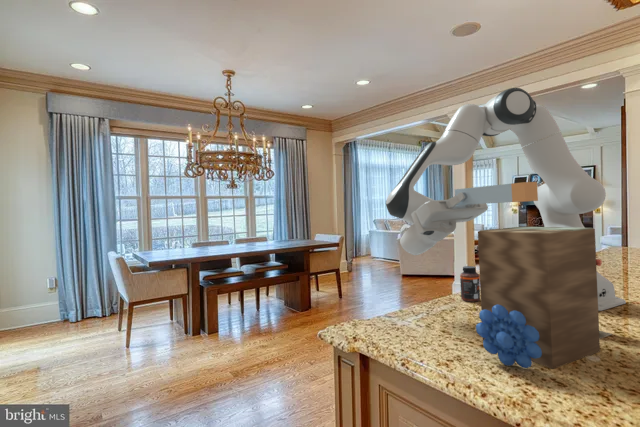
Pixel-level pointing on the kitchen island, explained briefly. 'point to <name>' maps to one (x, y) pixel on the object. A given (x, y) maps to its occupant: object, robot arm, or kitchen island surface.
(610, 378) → the kitchen island surface
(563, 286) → the tall wooden block
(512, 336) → the blue flower
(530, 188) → the grey and tan bar
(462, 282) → the supplement bottle
